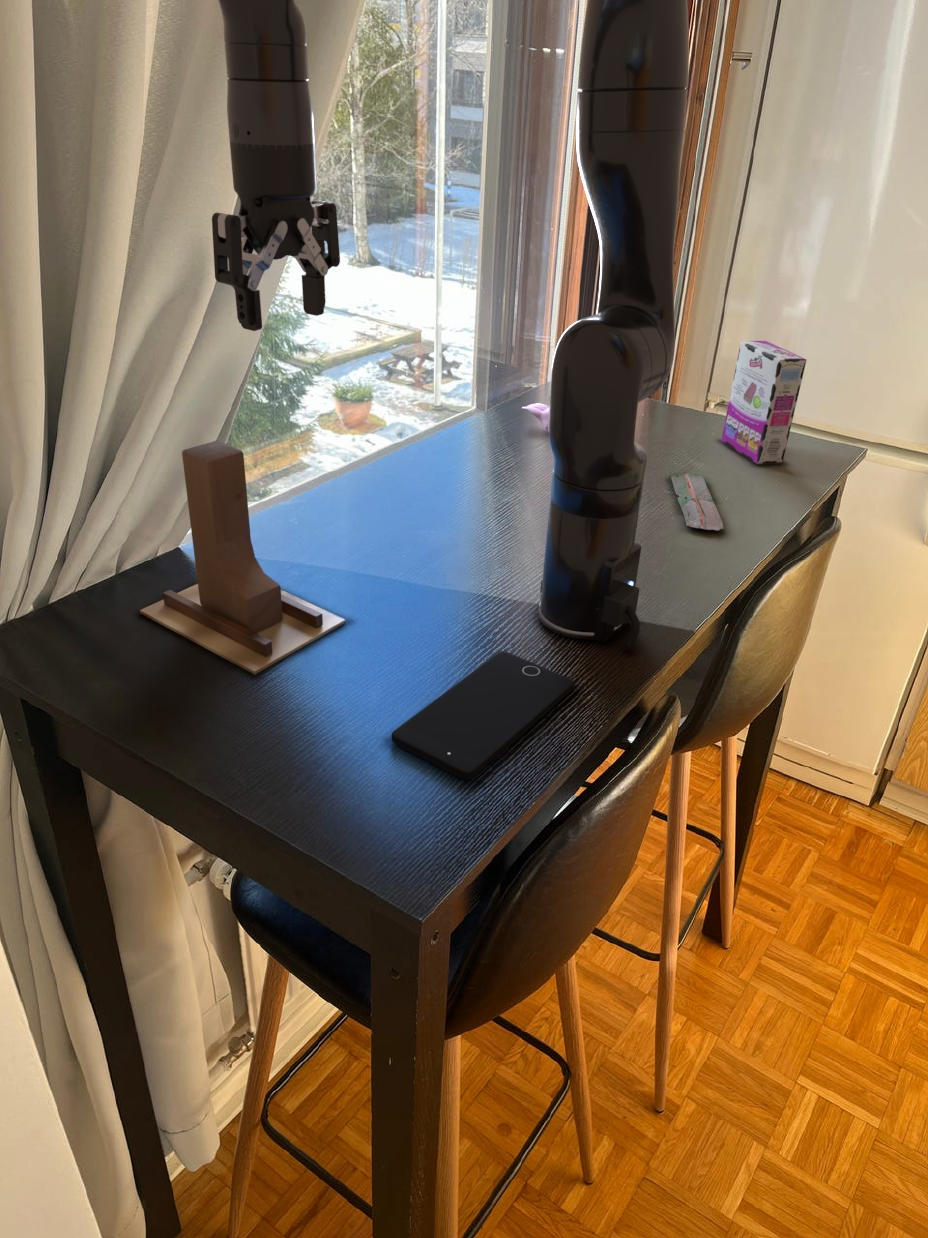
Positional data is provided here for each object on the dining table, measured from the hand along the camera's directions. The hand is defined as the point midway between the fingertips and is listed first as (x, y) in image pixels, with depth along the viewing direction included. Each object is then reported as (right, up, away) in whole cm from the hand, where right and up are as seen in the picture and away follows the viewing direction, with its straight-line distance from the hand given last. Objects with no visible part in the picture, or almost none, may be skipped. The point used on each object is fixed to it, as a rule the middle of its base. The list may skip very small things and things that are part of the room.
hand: (284, 321), depth 93 cm
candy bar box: (+64, -3, +58) cm, 86 cm away
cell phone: (+20, -38, -4) cm, 44 cm away
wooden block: (-6, -29, +9) cm, 31 cm away
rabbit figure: (+33, +1, +61) cm, 70 cm away
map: (+50, -13, +40) cm, 66 cm away
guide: (-6, -29, +9) cm, 31 cm away
